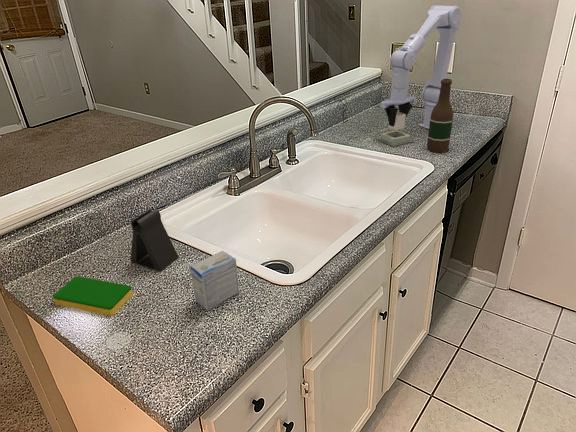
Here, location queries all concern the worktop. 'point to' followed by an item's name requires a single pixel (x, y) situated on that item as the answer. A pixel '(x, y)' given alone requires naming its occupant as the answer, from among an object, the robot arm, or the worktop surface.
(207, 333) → the worktop surface
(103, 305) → the dish sponge
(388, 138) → the socket block
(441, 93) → the beer bottle
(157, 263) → the phone stand
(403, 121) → the plug
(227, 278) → the medicine box
